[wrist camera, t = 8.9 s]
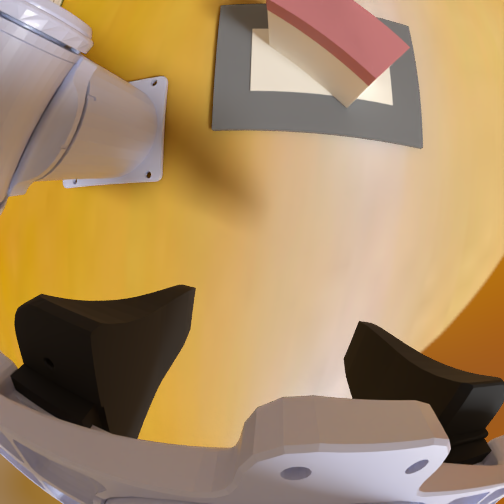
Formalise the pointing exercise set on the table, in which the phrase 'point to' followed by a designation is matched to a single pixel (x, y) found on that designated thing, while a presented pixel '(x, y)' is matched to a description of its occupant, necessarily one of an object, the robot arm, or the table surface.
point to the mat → (306, 88)
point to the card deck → (334, 43)
